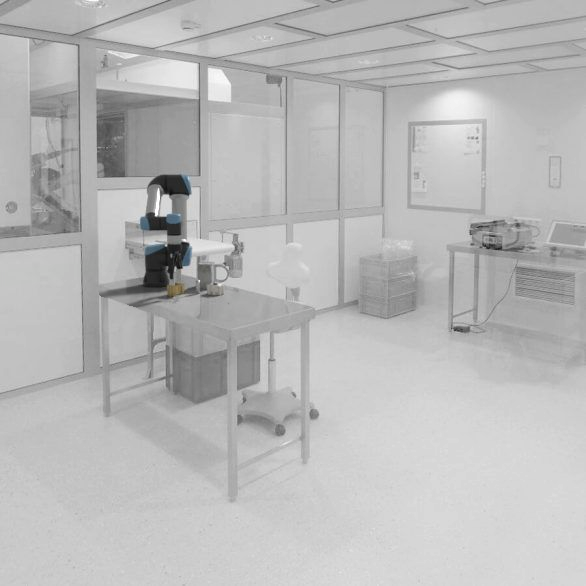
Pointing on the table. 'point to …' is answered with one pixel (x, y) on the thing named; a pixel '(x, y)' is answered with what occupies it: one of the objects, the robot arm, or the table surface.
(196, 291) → the gear plate
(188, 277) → the table surface
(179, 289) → the brass gear
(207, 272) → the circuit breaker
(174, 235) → the robot arm
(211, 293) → the gear
